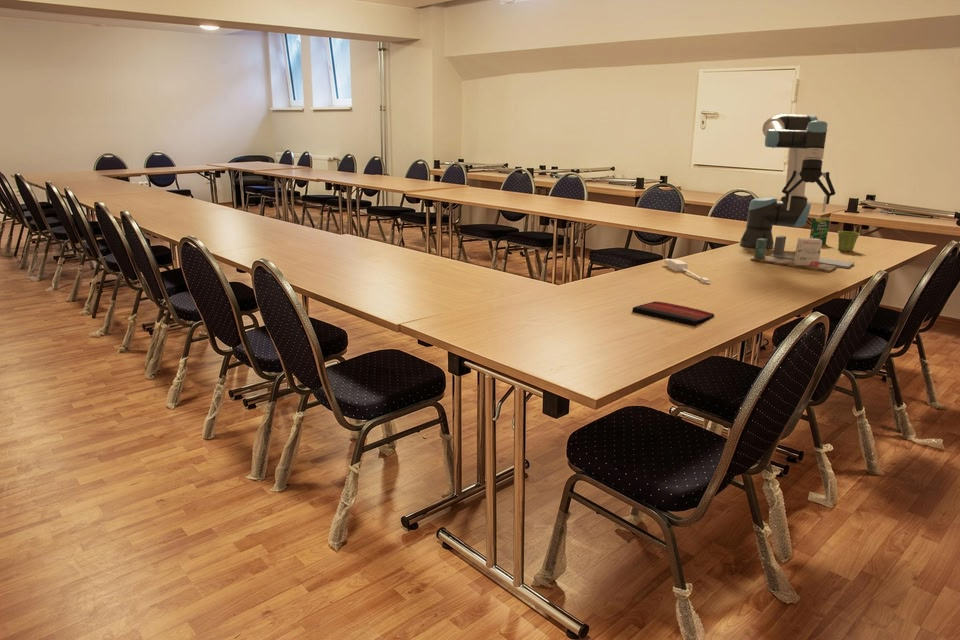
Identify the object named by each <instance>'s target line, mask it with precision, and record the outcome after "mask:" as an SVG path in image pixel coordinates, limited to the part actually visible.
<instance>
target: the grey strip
mask: <svg viewBox="0 0 960 640" xmlns="http://www.w3.org/2000/svg"><path fill="white" fill-rule="evenodd" d="M786 240H787V236H786V235H777V236H775V241H774V245H773V252H772V254H769V256H771V257H777V258H784V259H791V260H795V253H791V252H790V253H788V252H785V247H786ZM819 264H825V265H832V266H837V267H836V268H844V269H850V268H851V267H852V266H854V265H855V262H851V261H846V260H840V259H839V260H838V259H832V258H825V257H819Z"/></svg>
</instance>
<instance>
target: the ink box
mask: <svg viewBox="0 0 960 640" xmlns="http://www.w3.org/2000/svg"><path fill="white" fill-rule="evenodd" d="M796 243H797V244H796V248H795V253H794V254H795V260H794V263H795V264H796V265H810V266H818V263H819V258H821V257H820V256H821V250H822V247H823V244H822V240H820V239H812V238H810V237H809V238H807V237H798V238H797V242H796Z"/></svg>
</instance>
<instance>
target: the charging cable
mask: <svg viewBox="0 0 960 640" xmlns="http://www.w3.org/2000/svg"><path fill="white" fill-rule="evenodd" d="M663 263H664V264H666V266H667V268H669V269H671V270H672V271H675V272H686V273H687V274H690V275H692V276H693V277H695V278H697V279H699V282H700V283H702V284H712V282H711V280H710V279H709V278H707V277H701V276H699V275H697V274H695V273H694V272H692V271H690V270H689V269H688V266H689V265H688V263H687V262H684V261H683V260H681V259H675V258H667V259H666V258H665V259H664V261H663Z"/></svg>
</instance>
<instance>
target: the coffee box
mask: <svg viewBox="0 0 960 640" xmlns="http://www.w3.org/2000/svg"><path fill="white" fill-rule="evenodd" d="M830 220H831V219H830V218H829V217H812V222H811V228H810V233H809V238H812V239H820V240H822V245H826V244H827V243H826V242H827V238H828V232H829V226H830Z"/></svg>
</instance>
